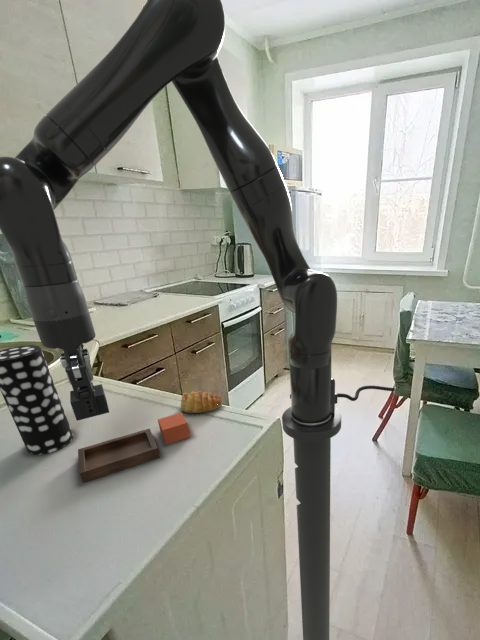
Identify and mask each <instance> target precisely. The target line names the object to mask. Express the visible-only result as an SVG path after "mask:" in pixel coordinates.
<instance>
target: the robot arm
mask: <svg viewBox="0 0 480 640" xmlns="http://www.w3.org/2000/svg"><path fill="white" fill-rule="evenodd" d="M225 32H226V15H225V10H224V5H223V1H222V0H147V1H146V2H145V4H144V6H143V7H142V9H141V10H140V12H139V13H138V15H137V16H136V18H135V19H134V21H133V22H132V23H131V25H130V26H129V27H128V29H127V30H126V32H125V33H123V35H122V36H121V37H120V39H119V40H118V41H117V43H116V44H115V45H114V46H113V47H112V48H111V50H110V51H108V53H107V54H106V55H105V56H104V57H103V58H102V59H101V60H99V62H98V63H97V64H96V65H95V66H94V67H93V68H92V69H91V70H89V72H88V73H87V74H86V75H85V76H84V77H83V78H82V79H81V80H79V82H78V83H77V84H76V85H74V86H73V87H72V89H70V91H68V92H67V93H66V94H65V95H64V96H63V97H62V98H61V99H60V100H59V101H58V102H57V103H56V104H55V105H54V106H52V108H51V109H50V110H49V111H47V113H45V115H44V116H42V118H41V119H40V120H39V121H38V122H37V124H36V126H35V127H34V130H33V135H32V139H31V140H30V141H29V142H28V143H27V144H26V145H25V146H24V147H23V148H22V149H21V151H20V152H19V153H18V154H16V156H14V157H13V156H0V232H1V234H2V236H3V237H4V240H5V241H6V243H7V245H8V247H9V249H10V251H11V254H12V256H13V261H14V264H15V268H16V270H17V273H18V276H19V278H20V282H21V285H22V286H23V290H24V295H25V300H26V305H27V307H28V309H29V312H30V315H31V318H32V321H33V323H34V326H35V329H36V332H37V334H38V337H39V341H40V342H41V345H42V346H43V347H44V348H47V349H51V350H56V349H60V350H62V351H63V352H60V357H59V359H60V363H61V366H62V368H64V371H65V373H66V377H67V381H68V383H69V385H70V386H71V387H72V391H73V390H74V393H75V398H77V400H78V399H79V400H80V403H81V406H82V409H83V412H84V415H85V417H87V418H86V419H90V418H94V417H97V416H100V415H99V414H100V412H99V408H98V405H97V402H96V399H95V394H94V393H95V390H93V387H92V386H94V384H93V381H94V375H93V368H92V364H91V357H90V353H89V349H88V348H85V347H84V344H88V343H90V342H92V341H93V340H94V339H95V338H96V331H95V328H94V324H93V321H92V317H91V314H90V310H89V307H88V304H87V300H86V297H85V293H84V291H83V289H82V287H81V284H80V282H79V280H78V275H77V273H76V269H75V265H74V262H73V259H72V255H71V253H70V251H69V249H68V246H67V244H66V243H65V241H64V240H63V237H62V234H61V232H60V227H59V224H58V220H57V217H56V213H55V210H56V209H57V208H58V206H59V205H60V204H61V203H62V202H63V201H64V200H65V198H67V196H68V195H69V193H70V192H71V191H72V190H73V188H74V187H75V186H76V184H77V183H78V181H80V179H81V178H83V177H84V176H85V175H86V174H88V173H90V171H91V170H92V169H94V167H95V166H97V165H98V163H100V162H101V160H103V158H105V156H106V155H107V154H109V153H110V152H111V151H112V150H113V148H115V146H116V145H117V144H118V143H119V142H120V141H121V139H122V138H123V137H124V136H125V135H126V134H127V132H128V131H129V130H130V129H131V127H132V126H133V125H134V123H135V122H136V121H137V119H138V118H139V117H140V116H141V114H142V113H143V112H144V111H145V109H146V108H147V107H148V106H149V104H150V103H151V102H152V101H153V100H154V99H155V98H156V97H157V96H158V94H160V93H161V92H162V91H163V90H164V89H165V88H167V86H168V85H169V84H171V83H172V85H173V86H174V88H175V90H176V91H177V93H178V94H179V96H180V98H181V100H182V101H183V103H184V104H185V106H186V107H187V109H188V111H189V112H190V114H191V116H192V118H193V119H194V121H195V122H196V126H197V127H198V129H199V131H200V133H201V135H202V137H203V140H204V142H205V144H206V147H207V148H208V151H209V153H210V155H211V157H212V159H213V161H214V163H215V165H216V167H217V169H218V171H219V174H220V176H221V177H222V180H223V182H224V184H225V186H226V188H227V191H228V192H229V194H230V197H231V199H232V201H233V203H234V205H235V206H236V208H237V210H238V212H239V214H240V216H241V217H242V219H243V221H244V223H245V225H246V227H247V228H248V230H249V232H250V234H251V236H252V238H253V240H254V241H255V243H256V245H257V247H258V248H259V250H260V252H261V254H262V256H263V258H264V259H265V262H266V264H267V267H268V268H269V271H270V274H271V276H272V279H273V281H274V284H275V286H276V289H277V292H278V294H279V297H280V299H281V301H282V303H283V305H284V306H285V308H287V309H288V310H289V311H290V312H292V313H293V314H294V332H292V333H290V334H289V336H288V341H287V342H288V345H287V346H288V363H289V383H290V385H289V386H290V394H289V399H290V405H291V406H290V407H292V410H291V411H292V413H291V416H292V420H293V421H294V422H295V423H296V424H298V425H301V426H305V427H317V426H322V425H324V424H326V423H328V422H329V421H330V420H331V418H332V417H334V416H335V408H336V406H335V405H337V404H338V398H344V399H348V400H349V401H351V402H355V401H357V400H358V398H359V395H360V393H361V392H362V391H364V390H379V391H385V392H395V391H396V388H395V387H388V386H379V385H363V386H361V387H358V388H357V390H356V391H355V394H354V396H351V395H350V394H347V393H341V392H339V393H337V392H336V380H335V379H334V378H333V377H332V345H333V340H334V337H335V335H336V331H337V314H338V291H337V286H336V283H335V281H334V280H333V278H332V277H331V276H329V275H328V274H327V273H324V272H321V271H318V270H313V269H311V267H310V266H309V264H308V262H307V260H306V259H305V256H304V255H303V252H302V250H301V248H300V246H299V244H298V241H297V237H296V233H295V227H294V215H293V214H294V213H293V207H292V201H291V196H290V193H289V190H288V187H287V184H286V182H285V180H284V177H283V174H282V172H281V170H280V168H279V165H278V163H277V161H276V159H275V156H274V155H273V152H272V151H271V149H270V147H269V146H268V144H267V143H266V142H265V140H264V139H263V138H262V136H261V135H260V134H259V132H258V131H257V130H256V129H255V127H254V126H253V125H252V123H251V122H250V121H249V120H248V119H247V117H246V116H245V114H244V113H243V112H242V110H241V109H240V106H239V105H238V103H237V101H236V100H235V97H234V96H233V94H232V91H231V89H230V86H229V84H228V81H227V79H226V77H225V74H224V72H223V69H222V66H221V63H220V61H219V58H218V57H219V56H218V55H219V53H220V50H221V48H222V45H223V42H224V38H225ZM87 387H88V389H86V390H82V391H79V389H82V388H87Z"/></svg>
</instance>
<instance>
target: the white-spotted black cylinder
mask: <svg viewBox="0 0 480 640" xmlns="http://www.w3.org/2000/svg"><path fill="white" fill-rule="evenodd" d="M43 352H44V351H43V350H42V347H41V346H40V345H37V344H28V345H27V344H26V345H18V346H13V347H8V348H5V349H0V393H1V396H2V397H3V400H4V402H5V404H6V406H7V409H8V411H9V413H10V415H11V417H12V419H13V422H14V424H15V426H16V429H17V431H18V433H19V435H20V437H21V439H22V442H23V444H24V447H25V449H26V451H27V453H28V454H31V455H37V456H38V455H39V456H40V455H46V454H50V453H53V452H55V451H56V452H57V451H58V450H61V449H62V448H64V447H66V446H67V445H69V444H70V443H71V442H72V440H73V439H74V433H73V431H72V428H71V425H70V422H69V420H68V417H67V415H66V412H65V408H64V406H63V404H62V401H61V398H60V395H59V393H58V390H57V388H56V385H55V382H54V378H53V377H52V374H51V371H50V369H49V366H48V363H47V359H46V358H45V355H44V353H43Z"/></svg>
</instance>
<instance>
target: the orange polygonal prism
mask: <svg viewBox="0 0 480 640" xmlns="http://www.w3.org/2000/svg"><path fill="white" fill-rule="evenodd" d="M157 423H158V427H159V431H160V435H161V437H162V439H163V441H164V444H165V445H170V444H173V443H176V442H179V441H183V440H185V439H189V438H191V433H190V428H189V423H188V421H187V419H186V418H185V416H184V414H183V413H182V412H179V413H178V412H177V413H175V414H171V415H167V416H164V417H161V418H158V419H157Z"/></svg>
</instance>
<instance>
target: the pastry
mask: <svg viewBox="0 0 480 640" xmlns="http://www.w3.org/2000/svg"><path fill="white" fill-rule="evenodd" d="M180 401H181V402H180V410H181V412H184V413H186V414H192V413H193V414H199V413H200V414H201V413H207V412H212V411H214V410H216V409H219V408H220V407H221V406H222V405H223V397H222V396H220V395H218V394H215V393H212V392H208V391H205V392H203V391H201V390H198V391H194V390H192V391H191V392H190V393H189V392H183V393H182V395H181V400H180ZM217 404H218V405H217Z"/></svg>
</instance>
